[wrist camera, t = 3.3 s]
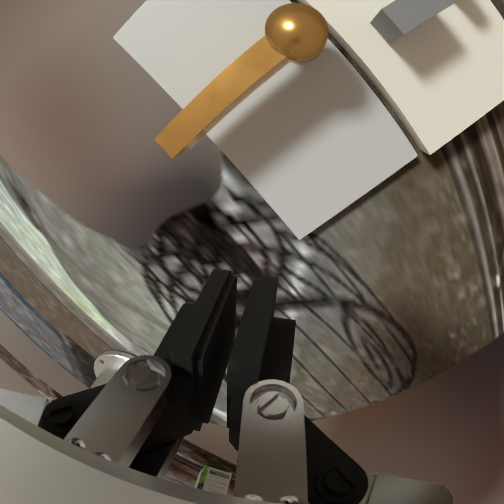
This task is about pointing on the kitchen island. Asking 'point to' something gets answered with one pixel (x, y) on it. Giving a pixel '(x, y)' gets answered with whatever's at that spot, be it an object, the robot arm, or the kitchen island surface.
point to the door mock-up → (330, 89)
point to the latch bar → (249, 73)
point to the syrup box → (213, 480)
